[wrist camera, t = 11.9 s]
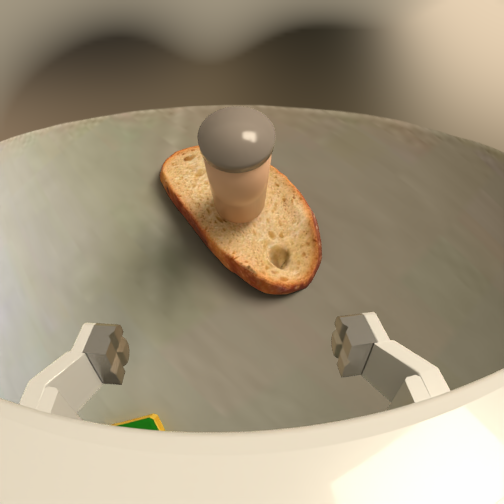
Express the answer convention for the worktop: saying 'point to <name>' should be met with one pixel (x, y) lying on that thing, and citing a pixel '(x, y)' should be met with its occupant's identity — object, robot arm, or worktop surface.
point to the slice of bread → (249, 227)
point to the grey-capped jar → (237, 160)
